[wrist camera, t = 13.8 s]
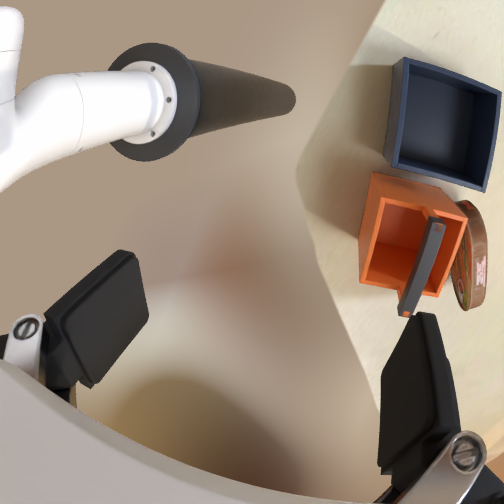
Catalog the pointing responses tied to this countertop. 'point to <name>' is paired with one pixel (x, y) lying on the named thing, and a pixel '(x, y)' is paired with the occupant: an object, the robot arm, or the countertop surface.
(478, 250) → the tin
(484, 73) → the countertop surface
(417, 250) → the basket
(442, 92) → the bin outer
